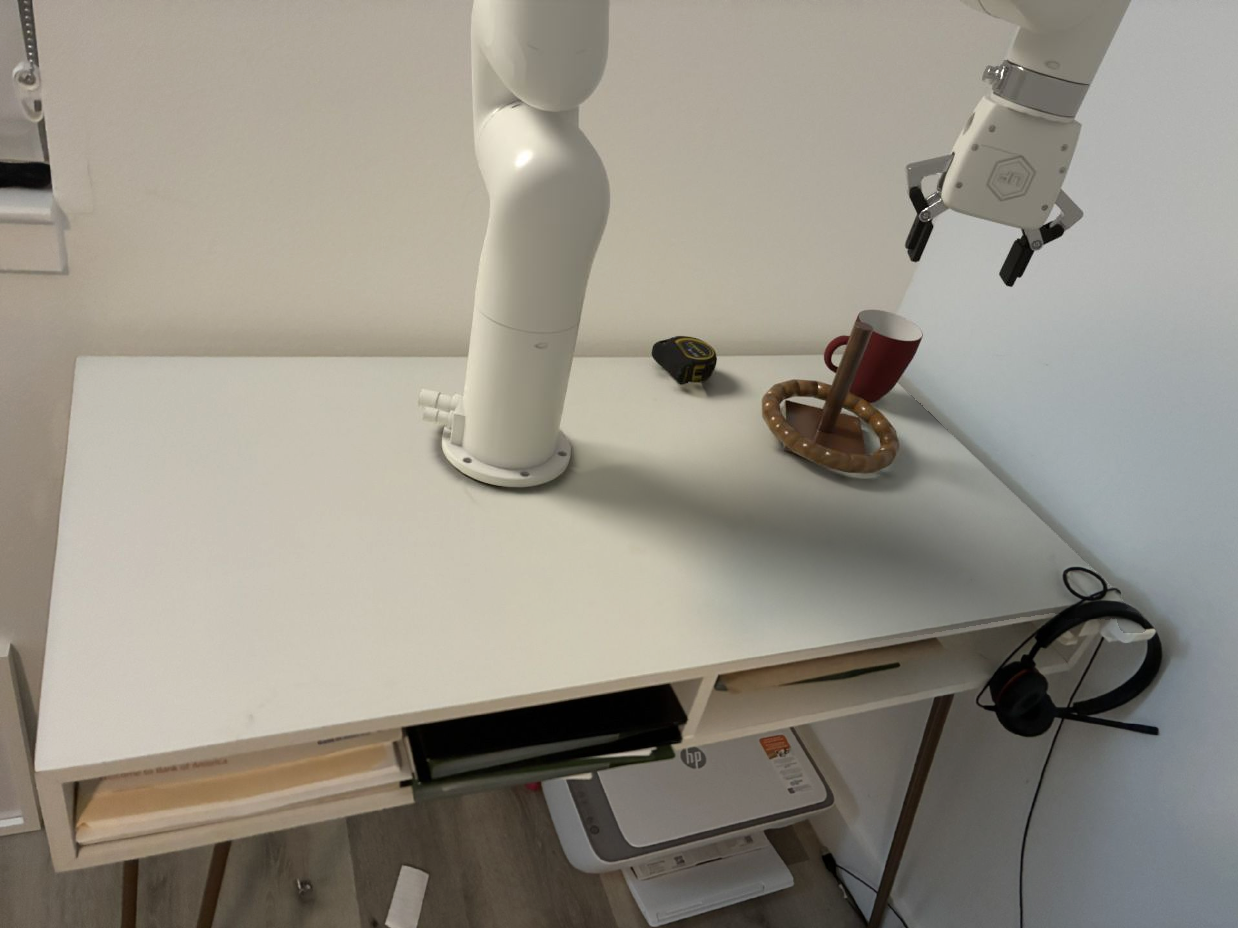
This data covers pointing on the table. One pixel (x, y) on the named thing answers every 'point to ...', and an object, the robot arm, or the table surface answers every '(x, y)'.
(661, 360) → the tape measure
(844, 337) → the mug
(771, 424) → the ring
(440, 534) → the table surface
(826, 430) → the post
